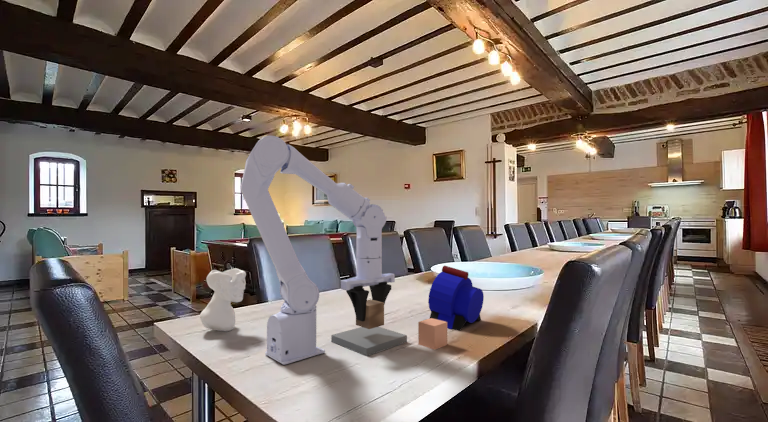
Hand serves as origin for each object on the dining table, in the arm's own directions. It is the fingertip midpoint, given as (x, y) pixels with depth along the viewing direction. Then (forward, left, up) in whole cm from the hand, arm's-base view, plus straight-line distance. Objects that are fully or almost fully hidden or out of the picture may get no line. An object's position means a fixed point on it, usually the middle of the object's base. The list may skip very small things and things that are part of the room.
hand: (369, 318), depth 82 cm
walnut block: (0, 0, -2) cm, 2 cm away
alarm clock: (+27, -5, -6) cm, 28 cm away
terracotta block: (+9, -11, -5) cm, 15 cm away
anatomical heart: (-20, +31, -6) cm, 37 cm away
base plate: (0, 0, -5) cm, 5 cm away
